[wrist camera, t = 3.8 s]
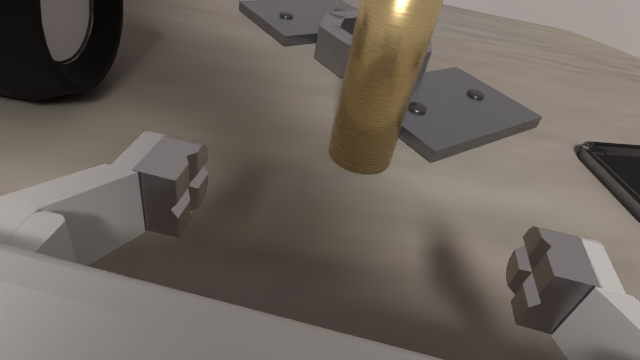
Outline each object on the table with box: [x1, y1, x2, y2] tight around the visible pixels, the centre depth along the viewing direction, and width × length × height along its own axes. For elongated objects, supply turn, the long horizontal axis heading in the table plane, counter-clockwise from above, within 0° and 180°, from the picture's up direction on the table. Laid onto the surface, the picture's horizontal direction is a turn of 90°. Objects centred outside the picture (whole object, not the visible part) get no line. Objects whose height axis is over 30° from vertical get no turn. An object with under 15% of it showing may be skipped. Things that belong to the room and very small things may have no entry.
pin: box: [329, 0, 443, 174], centre depth 20 cm, size 4×4×13 cm
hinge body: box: [239, 0, 542, 162], centre depth 34 cm, size 24×11×2 cm, turn 34°
